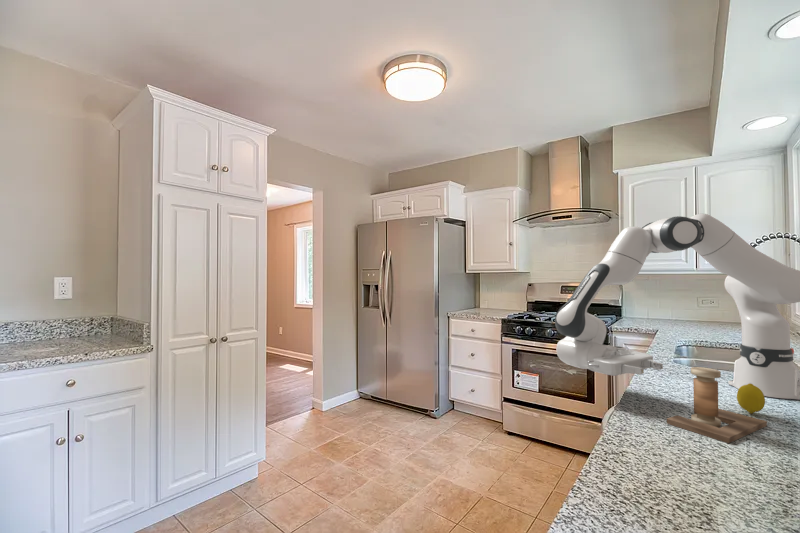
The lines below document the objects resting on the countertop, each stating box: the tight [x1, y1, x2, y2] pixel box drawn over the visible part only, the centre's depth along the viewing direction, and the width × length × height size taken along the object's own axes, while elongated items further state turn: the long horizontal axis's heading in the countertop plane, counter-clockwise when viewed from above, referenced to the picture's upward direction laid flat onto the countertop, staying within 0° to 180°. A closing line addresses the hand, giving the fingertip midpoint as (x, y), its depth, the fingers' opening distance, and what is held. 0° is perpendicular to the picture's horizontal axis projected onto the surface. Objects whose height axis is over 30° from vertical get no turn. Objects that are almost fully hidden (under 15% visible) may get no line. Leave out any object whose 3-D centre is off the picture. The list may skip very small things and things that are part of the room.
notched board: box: [666, 407, 768, 444], centre depth 95 cm, size 20×12×1 cm, turn 119°
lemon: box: [736, 383, 766, 415], centre depth 102 cm, size 6×6×8 cm
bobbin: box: [690, 366, 722, 428], centre depth 96 cm, size 6×6×13 cm
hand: (652, 369), depth 107 cm, fingers open, 8 cm apart
